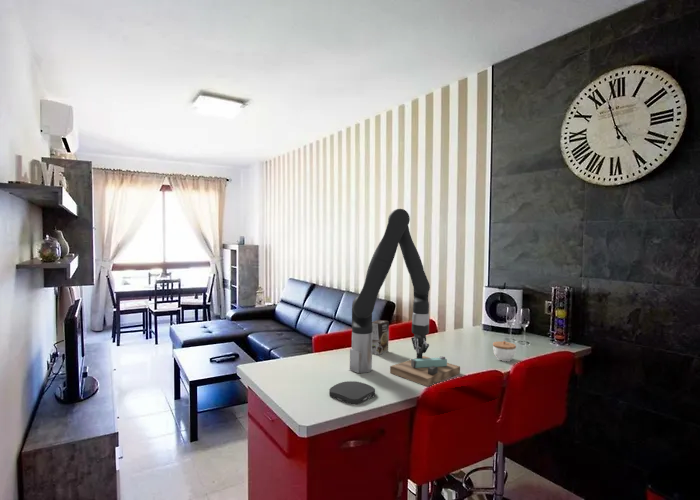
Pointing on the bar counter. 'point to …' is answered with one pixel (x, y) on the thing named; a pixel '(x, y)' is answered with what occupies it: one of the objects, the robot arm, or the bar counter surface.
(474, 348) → the bar counter surface
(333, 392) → the media streaming box
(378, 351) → the coffee box
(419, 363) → the folding leg
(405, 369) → the wooden board
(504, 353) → the lidded jar
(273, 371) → the bar counter surface
